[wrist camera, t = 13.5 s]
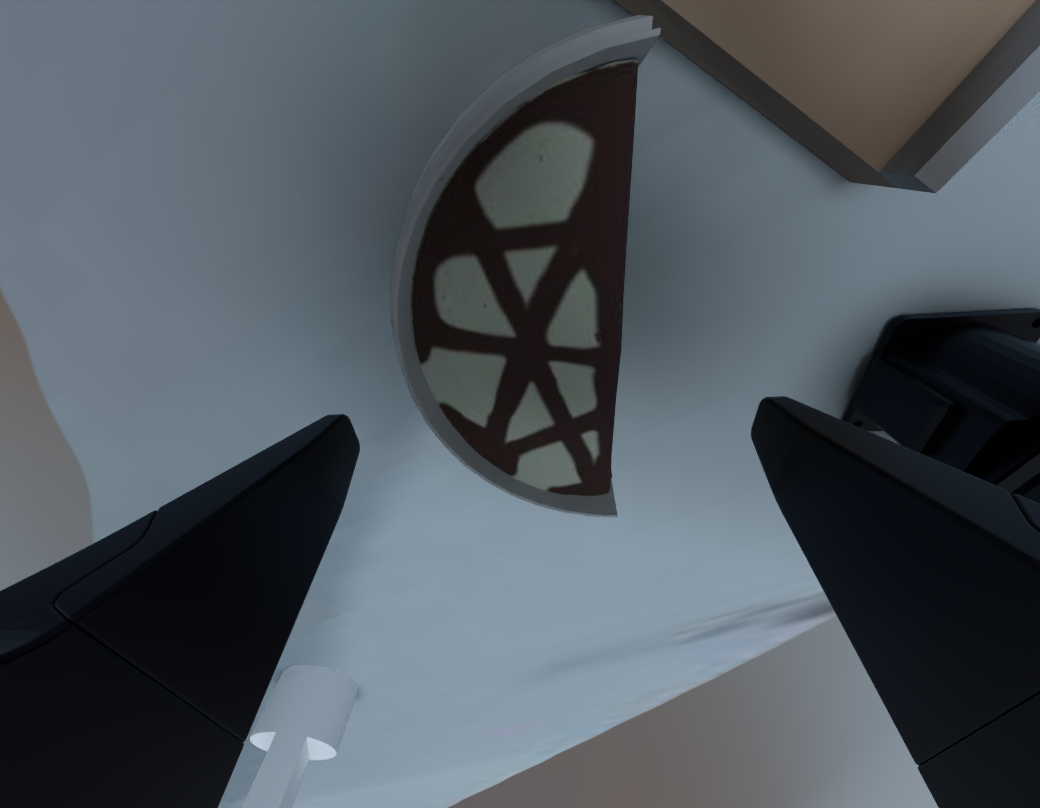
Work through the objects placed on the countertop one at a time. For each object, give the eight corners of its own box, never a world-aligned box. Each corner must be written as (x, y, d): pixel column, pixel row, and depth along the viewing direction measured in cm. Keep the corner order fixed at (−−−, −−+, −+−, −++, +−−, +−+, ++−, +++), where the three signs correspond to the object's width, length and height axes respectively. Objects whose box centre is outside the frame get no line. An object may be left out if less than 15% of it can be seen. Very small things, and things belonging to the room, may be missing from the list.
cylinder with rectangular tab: (279, 659, 43) (200, 813, 33) (360, 673, 44) (307, 827, 34) (284, 689, 48) (217, 831, 38) (357, 701, 49) (310, 843, 39)
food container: (426, 94, 14) (267, 29, 6) (593, 76, 14) (666, -25, 6) (475, 379, 21) (430, 530, 13) (587, 374, 21) (616, 528, 12)
